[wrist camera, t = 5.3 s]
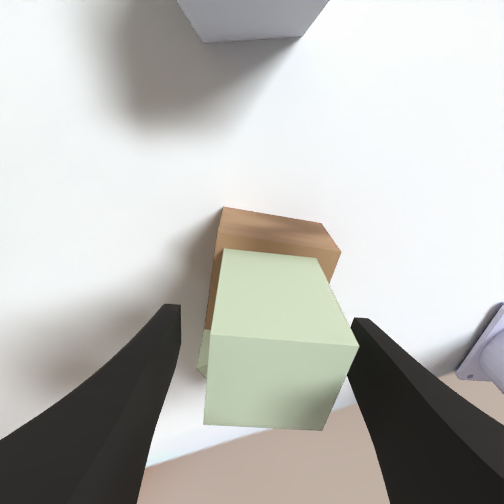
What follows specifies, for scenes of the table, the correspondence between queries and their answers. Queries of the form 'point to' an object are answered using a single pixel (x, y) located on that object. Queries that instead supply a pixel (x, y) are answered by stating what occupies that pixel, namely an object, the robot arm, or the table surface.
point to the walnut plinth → (270, 243)
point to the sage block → (275, 344)
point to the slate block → (250, 18)
